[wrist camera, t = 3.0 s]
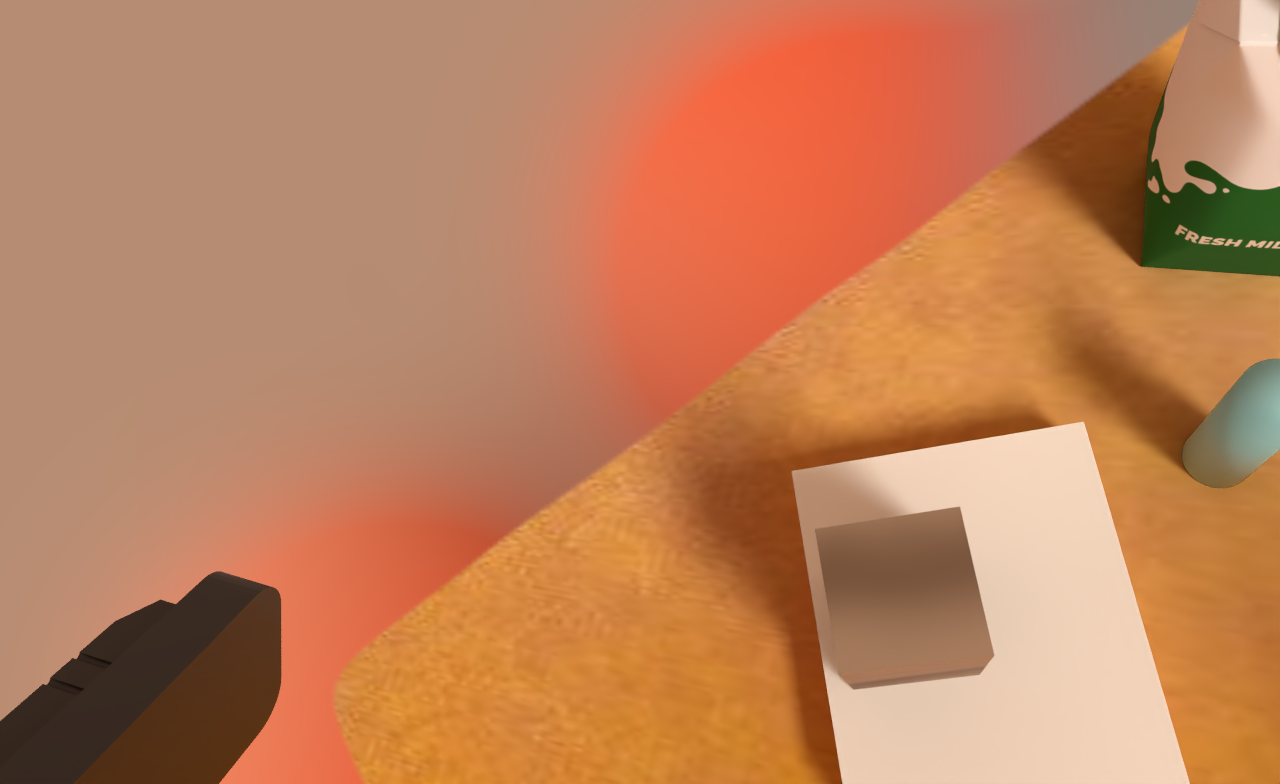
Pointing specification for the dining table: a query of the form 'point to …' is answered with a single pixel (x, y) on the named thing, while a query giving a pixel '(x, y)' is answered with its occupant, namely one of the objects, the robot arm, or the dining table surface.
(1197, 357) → the dining table surface
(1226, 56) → the milk carton
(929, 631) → the grey brown block
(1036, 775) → the board
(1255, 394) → the peg
